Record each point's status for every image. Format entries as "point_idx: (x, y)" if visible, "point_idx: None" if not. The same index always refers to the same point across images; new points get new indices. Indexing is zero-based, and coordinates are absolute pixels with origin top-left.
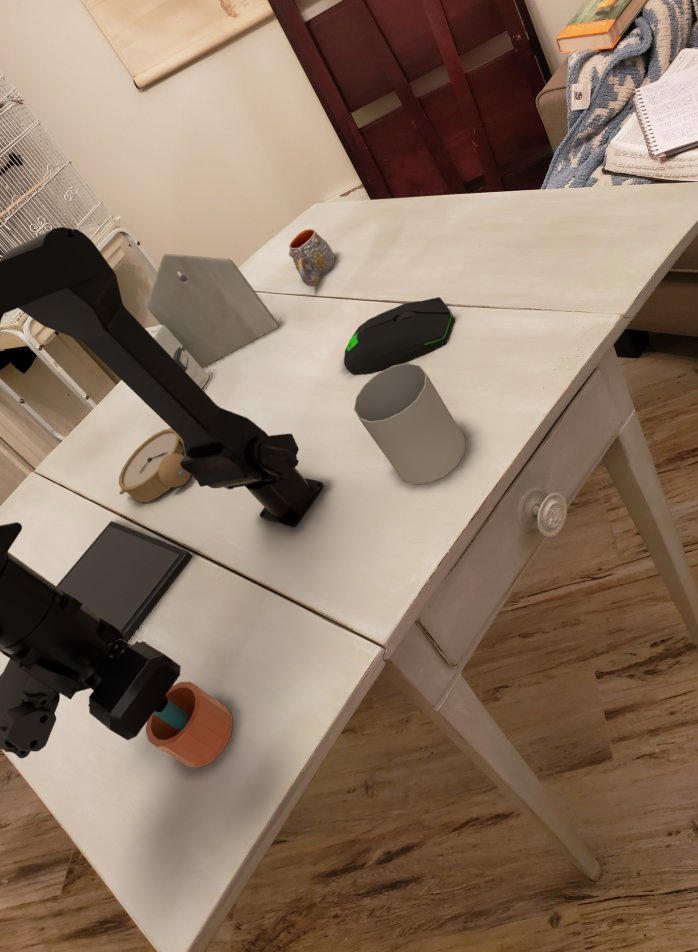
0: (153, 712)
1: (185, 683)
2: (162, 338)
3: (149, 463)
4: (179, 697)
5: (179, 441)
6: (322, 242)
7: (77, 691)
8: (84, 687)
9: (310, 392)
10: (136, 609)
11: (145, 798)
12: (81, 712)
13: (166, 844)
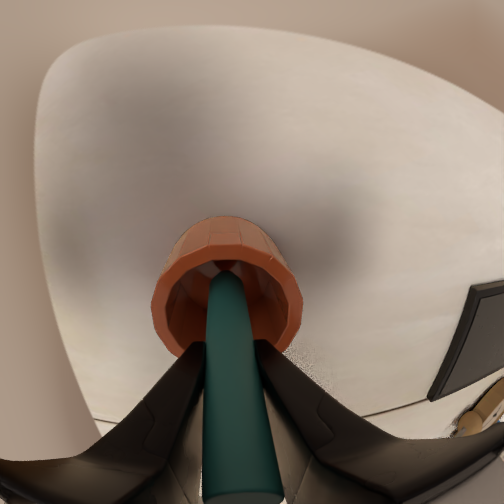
0: (215, 333)
1: None
2: None
3: (494, 413)
4: (270, 327)
5: None
6: None
7: (373, 493)
8: (353, 490)
9: None
10: (469, 333)
11: (267, 133)
12: (480, 193)
13: (157, 107)
